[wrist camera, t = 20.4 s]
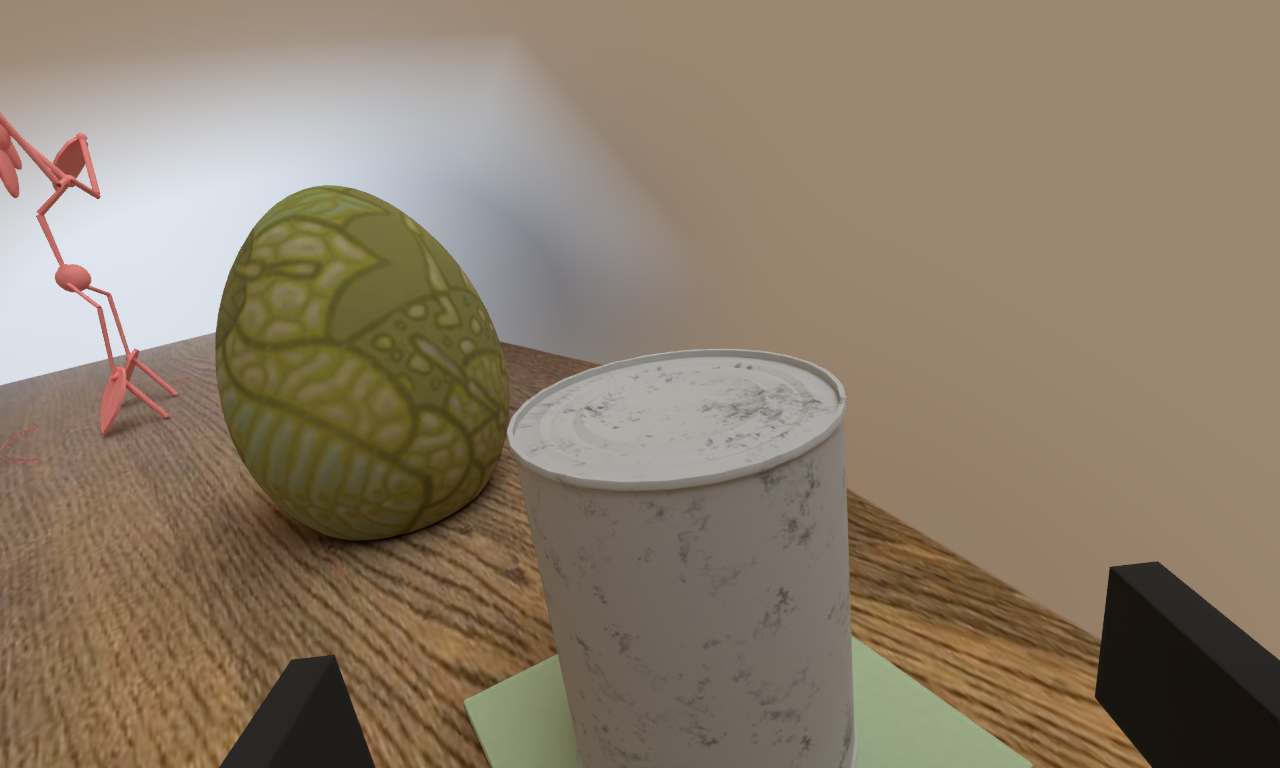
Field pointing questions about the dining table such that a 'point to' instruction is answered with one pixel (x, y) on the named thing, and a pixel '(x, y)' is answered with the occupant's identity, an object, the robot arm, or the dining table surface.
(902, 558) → the dining table surface
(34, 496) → the dining table surface
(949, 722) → the mat
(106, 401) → the figurine
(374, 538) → the decorative sculpture
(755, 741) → the grey speckled cylinder
